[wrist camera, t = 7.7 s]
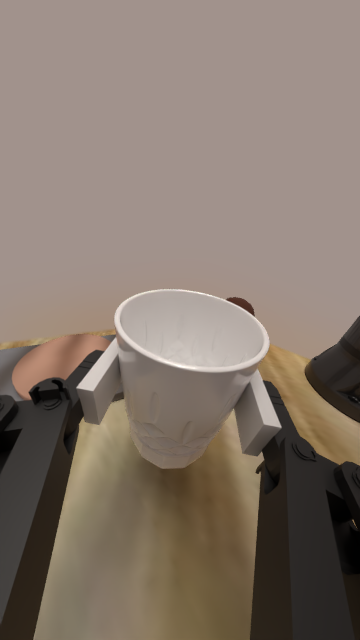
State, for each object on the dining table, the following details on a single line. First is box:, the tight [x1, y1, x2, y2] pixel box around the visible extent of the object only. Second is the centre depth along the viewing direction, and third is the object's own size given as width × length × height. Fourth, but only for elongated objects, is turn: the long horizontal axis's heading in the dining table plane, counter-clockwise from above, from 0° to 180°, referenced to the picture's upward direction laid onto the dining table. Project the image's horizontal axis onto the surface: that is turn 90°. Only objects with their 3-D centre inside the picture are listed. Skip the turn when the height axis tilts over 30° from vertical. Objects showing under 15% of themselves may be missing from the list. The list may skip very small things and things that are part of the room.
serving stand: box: [0, 334, 124, 402], centre depth 26 cm, size 22×14×3 cm, turn 117°
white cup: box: [114, 289, 270, 469], centre depth 11 cm, size 8×8×10 cm
